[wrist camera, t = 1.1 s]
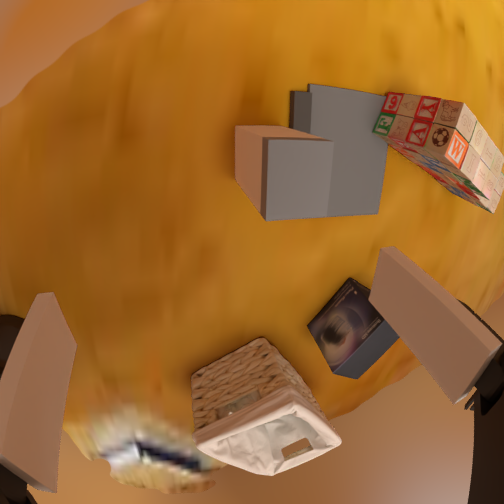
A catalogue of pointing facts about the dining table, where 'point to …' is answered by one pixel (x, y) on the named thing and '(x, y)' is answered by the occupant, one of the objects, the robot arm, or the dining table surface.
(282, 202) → the tall block
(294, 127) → the pad
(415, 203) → the dining table surface
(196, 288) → the dining table surface
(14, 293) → the dining table surface
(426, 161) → the stack of blocks
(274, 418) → the storage basket
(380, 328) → the small box
